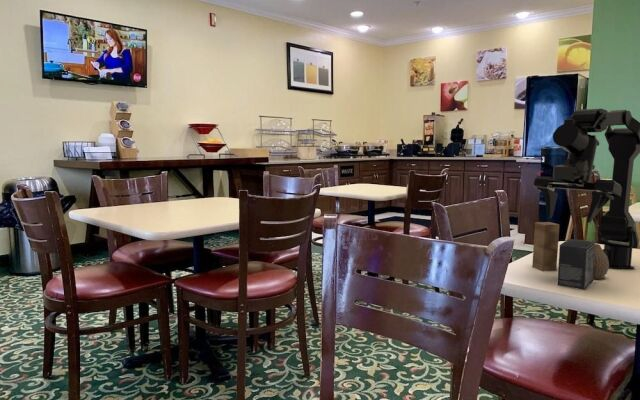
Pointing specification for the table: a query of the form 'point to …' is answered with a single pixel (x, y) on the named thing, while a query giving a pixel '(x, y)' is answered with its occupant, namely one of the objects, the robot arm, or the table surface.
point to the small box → (576, 263)
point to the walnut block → (545, 246)
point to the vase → (600, 263)
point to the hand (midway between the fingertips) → (568, 220)
